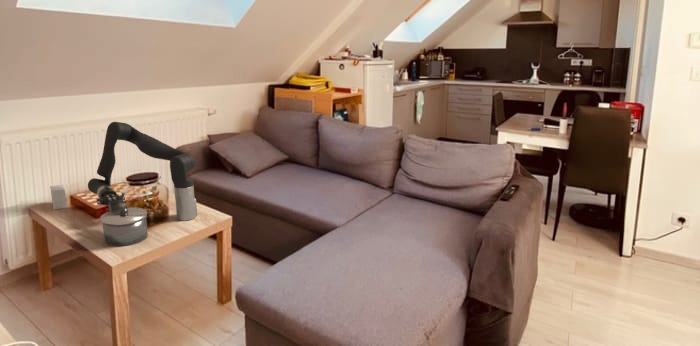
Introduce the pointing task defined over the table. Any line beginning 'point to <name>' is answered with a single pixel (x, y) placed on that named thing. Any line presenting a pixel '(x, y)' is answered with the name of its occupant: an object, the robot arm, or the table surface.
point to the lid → (122, 214)
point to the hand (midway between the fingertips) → (115, 204)
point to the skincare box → (58, 197)
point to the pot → (125, 233)
